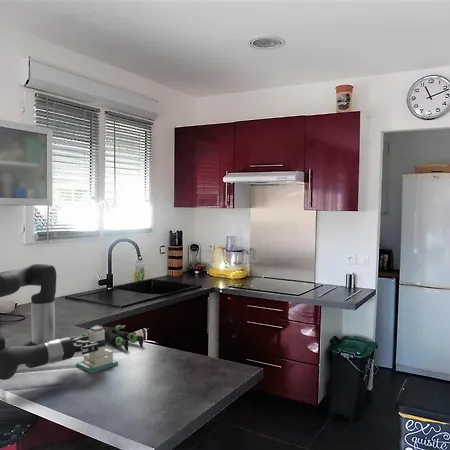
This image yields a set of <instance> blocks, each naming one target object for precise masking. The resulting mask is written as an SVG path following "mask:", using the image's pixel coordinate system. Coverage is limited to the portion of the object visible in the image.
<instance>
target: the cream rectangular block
mask: <svg viewBox="0 0 450 450" xmlns="http://www.w3.org/2000/svg"><path fill="white" fill-rule="evenodd" d="M88 333H89V341H90V342H96V341H100V340H106V339H105V330H103V328H102V327H99V326H96V327H94V326H92V327H90V329H89V330H88ZM90 345H91V344H90ZM105 349H106V346H103V347H99V348H98V351H95V352H91V353H88V354H89V362H90V363H93V364H94V360H95V359H98V358H102V357H105Z"/></svg>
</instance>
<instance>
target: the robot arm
mask: <svg viewBox="0 0 450 450" xmlns="http://www.w3.org/2000/svg"><path fill="white" fill-rule="evenodd" d="M27 286H36V287H38V286H39V287H40V290H39V292H37V293H35V294H32V295H31V297H30V303H31V304H30V306H31V308H30V309H31V310H30V312H31V320H30V321H31V322H30V323H31V343H32V344H34V345H13V346H7V347H6V339H5V337H4V336H3V333H2V332H1V331H0V380H1V381H6V380H10V379H11V378H13V377H14V375H15V374H16V372H17V371H18V368H19V366H20V365H25V367H27V368H28V369H34V368H39V367H42V366H46V365H51V364H56V363H59V362H64V361H67V360H71V359H72V358H73V357H74V355H75V354H76V353H78V354H79V353H81V355H86V354H89V353H91V352H95V351H98V348H99V347H103V346H105V347H106V345H107V339H105V340H100V341H96V342H90V341H89V335H88V336H84V337H83V336H80V335H74V336H70V337H69V336H65V337H61V338H56V332H55V331H56V326H55V325H56V322H55V319H56V317H55V316H56V315H55V314H56V313H55V311H56V310H55V308H56V307H55V298H56V293H57V271H56V268H55V266H54V265H53V264H45V263H35V264H31V265H28V266H25V267H22V268H20V269H13V270H6V271H1V272H0V298H3V297H7V296H11V295H13V294H15V293H17V292H18V291H19V290H20V288H22V287H27ZM79 336H80V337H79ZM90 344H91V345H90Z"/></svg>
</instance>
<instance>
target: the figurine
mask: <svg viewBox="0 0 450 450" xmlns="http://www.w3.org/2000/svg"><path fill="white" fill-rule="evenodd" d="M96 326H99V327H102V328H103V330H105V340H106V341H107V340H108V341H109V342H110V343H111V344H113V345H115V346H117V347H119V348H121V347H123V348H124V350H125V352H128V351H129V342H130V343H132V344H136V343H137V342H138V344H139V347H140V348H142V347H143V346H144V345H143V344H144V336H142V335H137V334H135V333H129V332H128V331H121V329H125V327H126V324H125V325H124V324H123V325H120V324H118V325H116V326H113V327H108V326H104V325H102V324H95V325H94V326H93V327H96ZM88 335H89V332H88V333H86V332H85V333H82V334H80V335H78V336H79V337H80V336H83V337H84V336H88Z"/></svg>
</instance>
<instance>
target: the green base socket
mask: <svg viewBox="0 0 450 450" xmlns="http://www.w3.org/2000/svg"><path fill="white" fill-rule="evenodd" d="M75 365H76V367H77V366H78V367H77V368H79V367H80V368H79V369H81V368H82V369H81V370H83V369H84V371H85V372H88V373H90V374H93V373H96V372H99V371H103V370H107V369H109V367H110V368H112V367H116V366H119V361H118V360H115V359H114V351H113V350H111V349H107V348H105V357H102V358H98V359H95V360H94V364H93V363H90V362H89V353H87V354H83V359H82V360H80V361H79V362H76V364H75Z"/></svg>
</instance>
